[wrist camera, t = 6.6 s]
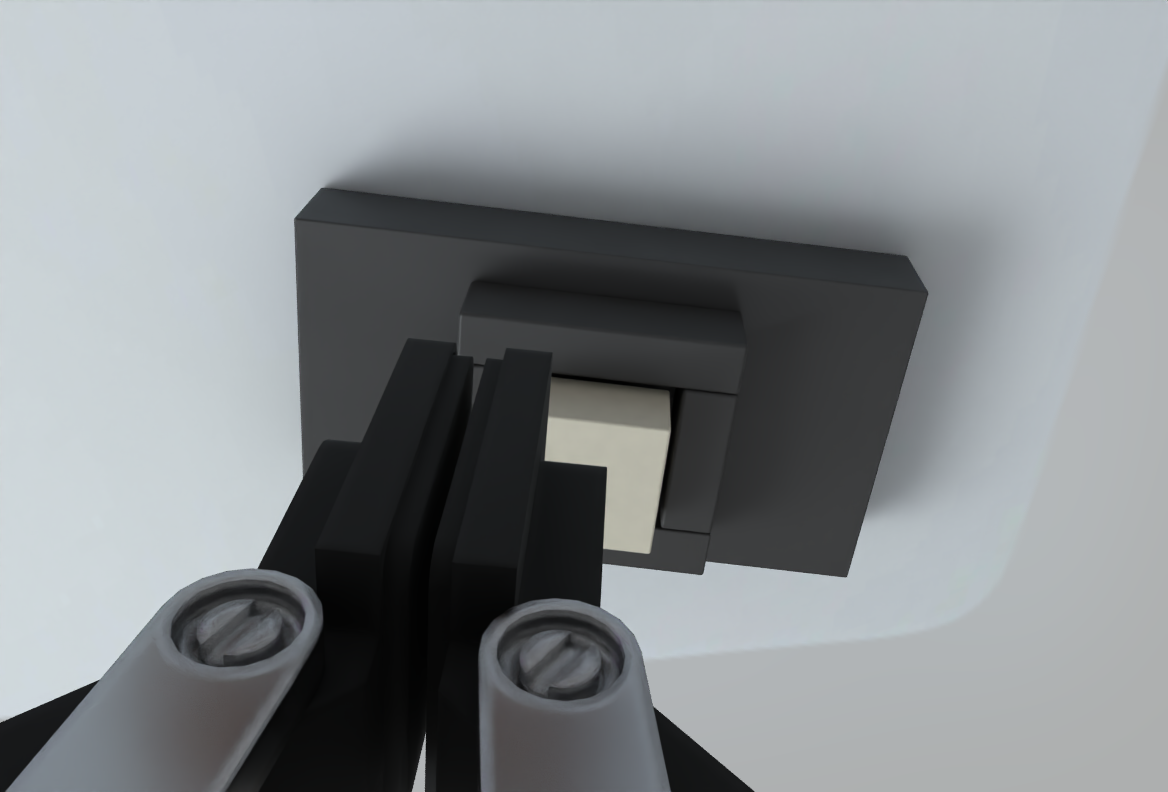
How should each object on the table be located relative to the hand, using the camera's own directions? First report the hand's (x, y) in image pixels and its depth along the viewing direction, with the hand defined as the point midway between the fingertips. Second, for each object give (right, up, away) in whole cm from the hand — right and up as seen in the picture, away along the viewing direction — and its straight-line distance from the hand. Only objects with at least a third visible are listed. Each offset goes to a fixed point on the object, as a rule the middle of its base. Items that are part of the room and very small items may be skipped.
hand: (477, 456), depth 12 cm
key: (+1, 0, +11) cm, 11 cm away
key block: (+2, +1, +14) cm, 15 cm away
